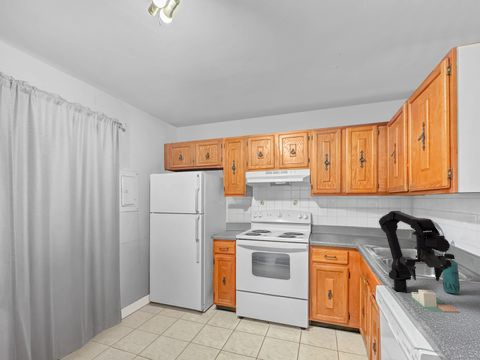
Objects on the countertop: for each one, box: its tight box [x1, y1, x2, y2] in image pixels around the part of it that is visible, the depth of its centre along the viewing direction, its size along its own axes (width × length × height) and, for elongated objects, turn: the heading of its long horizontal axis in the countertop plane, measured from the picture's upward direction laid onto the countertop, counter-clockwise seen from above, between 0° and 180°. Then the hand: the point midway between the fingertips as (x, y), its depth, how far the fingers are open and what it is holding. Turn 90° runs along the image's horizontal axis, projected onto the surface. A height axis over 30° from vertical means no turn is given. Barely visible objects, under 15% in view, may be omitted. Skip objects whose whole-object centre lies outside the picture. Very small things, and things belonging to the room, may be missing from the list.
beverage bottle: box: [442, 253, 461, 294], centre depth 122 cm, size 6×7×20 cm
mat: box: [407, 295, 461, 314], centre depth 111 cm, size 16×13×1 cm
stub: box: [418, 289, 437, 307], centre depth 110 cm, size 4×5×6 cm
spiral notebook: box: [411, 291, 419, 302], centre depth 115 cm, size 6×5×2 cm
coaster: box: [437, 304, 461, 313], centre depth 106 cm, size 6×6×1 cm
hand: (425, 280), depth 110 cm, fingers open, 9 cm apart
